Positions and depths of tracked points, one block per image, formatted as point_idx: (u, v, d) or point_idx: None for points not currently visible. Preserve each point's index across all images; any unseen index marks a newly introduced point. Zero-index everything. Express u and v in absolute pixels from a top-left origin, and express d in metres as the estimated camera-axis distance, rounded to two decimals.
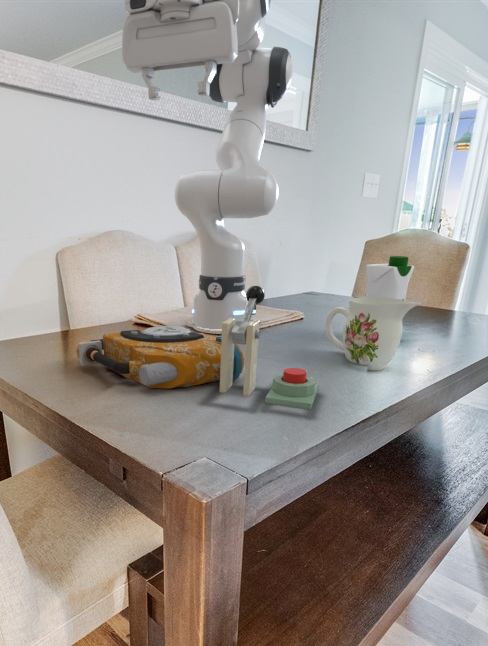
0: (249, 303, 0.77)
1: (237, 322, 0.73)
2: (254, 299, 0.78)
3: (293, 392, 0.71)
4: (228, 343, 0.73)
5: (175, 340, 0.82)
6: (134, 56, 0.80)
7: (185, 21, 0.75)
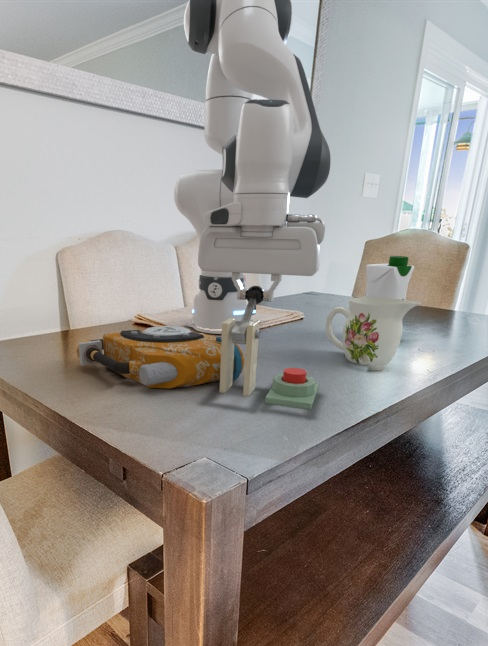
0: (249, 303, 0.77)
1: (237, 322, 0.73)
2: (254, 299, 0.78)
3: (293, 392, 0.71)
4: (228, 343, 0.73)
5: (175, 340, 0.82)
6: (211, 262, 0.79)
7: (267, 239, 0.74)
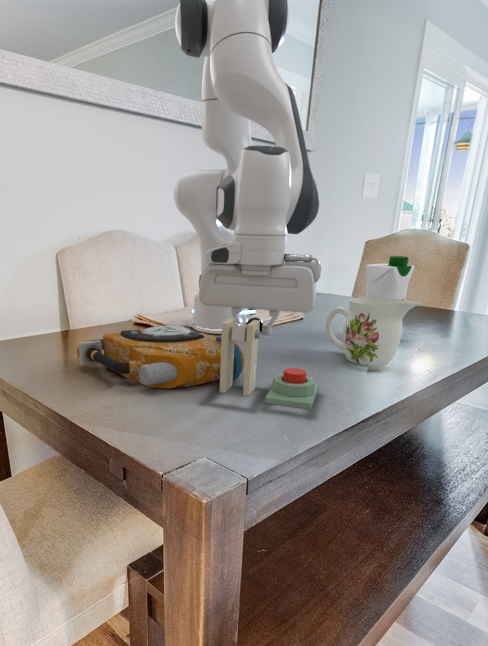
0: None
1: (238, 324, 0.74)
2: None
3: (293, 392, 0.71)
4: (228, 343, 0.73)
5: (175, 340, 0.82)
6: (211, 297, 0.81)
7: (266, 277, 0.77)
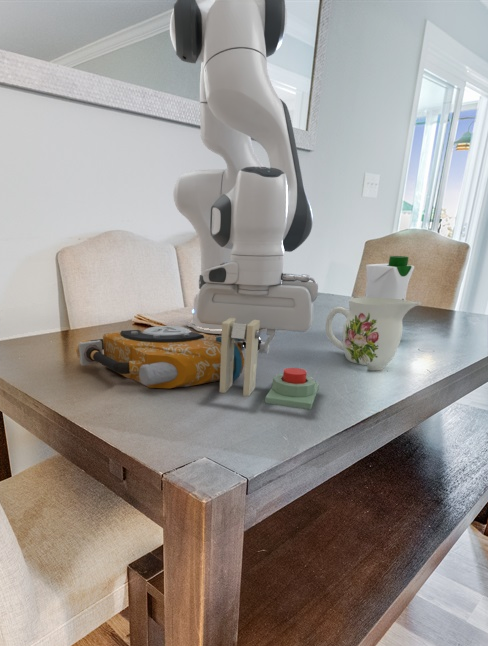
0: None
1: None
2: None
3: (293, 392, 0.71)
4: (228, 343, 0.73)
5: (175, 340, 0.82)
6: (209, 315, 0.82)
7: (263, 296, 0.77)
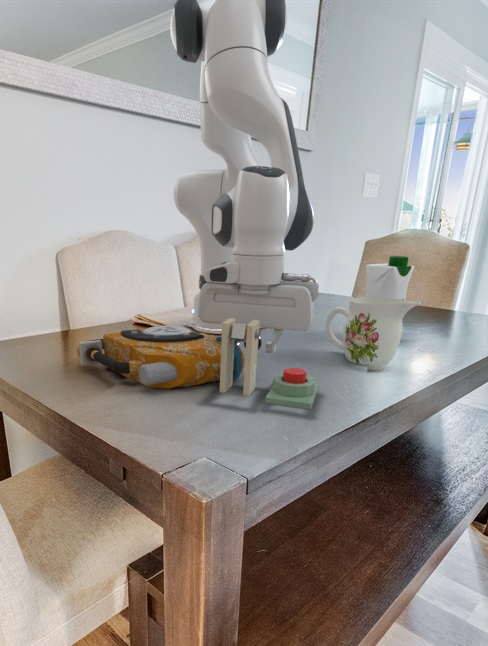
0: None
1: None
2: None
3: (293, 392, 0.71)
4: (228, 343, 0.73)
5: (175, 340, 0.82)
6: (210, 314, 0.82)
7: (264, 296, 0.78)
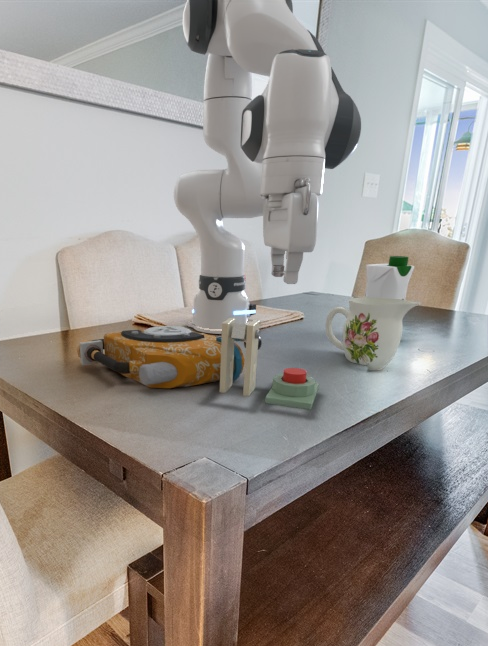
0: None
1: None
2: None
3: (293, 392, 0.71)
4: (228, 343, 0.73)
5: (175, 340, 0.82)
6: (266, 236, 0.77)
7: (280, 209, 0.67)
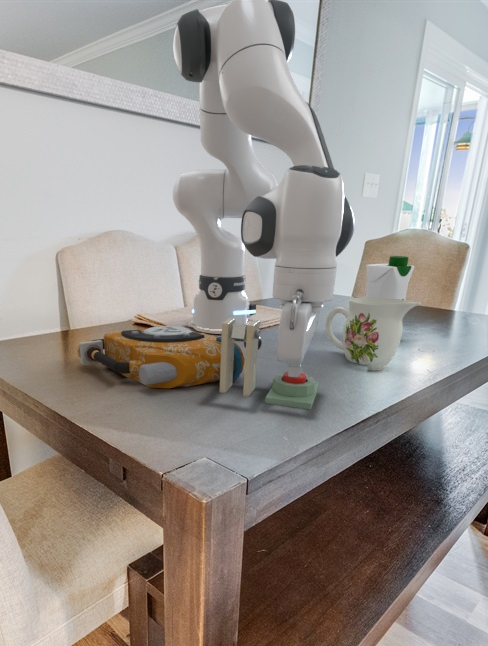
0: None
1: None
2: None
3: (293, 392, 0.71)
4: (228, 343, 0.73)
5: (175, 340, 0.82)
6: None
7: None
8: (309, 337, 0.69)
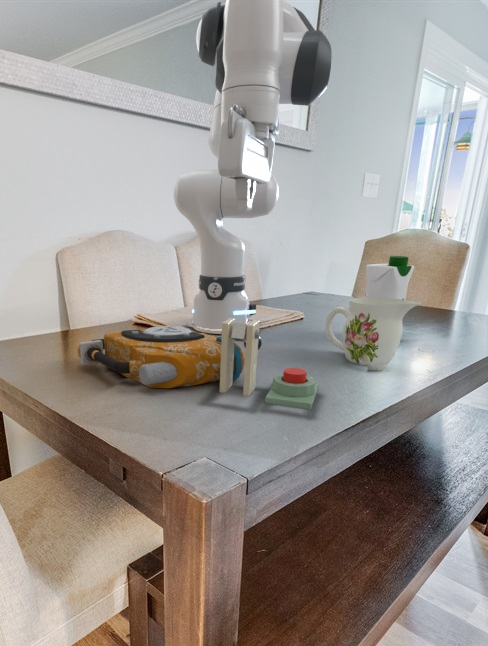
0: None
1: None
2: None
3: (293, 392, 0.71)
4: (228, 343, 0.73)
5: (175, 340, 0.82)
6: None
7: None
8: (255, 165, 0.72)
